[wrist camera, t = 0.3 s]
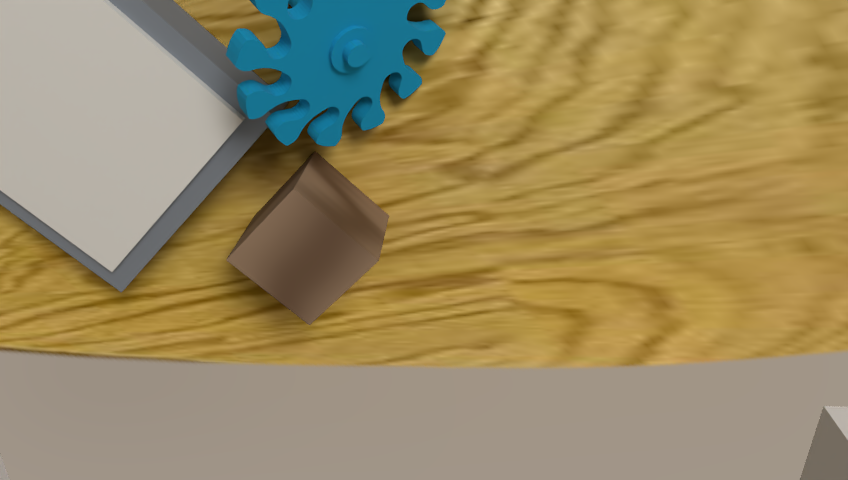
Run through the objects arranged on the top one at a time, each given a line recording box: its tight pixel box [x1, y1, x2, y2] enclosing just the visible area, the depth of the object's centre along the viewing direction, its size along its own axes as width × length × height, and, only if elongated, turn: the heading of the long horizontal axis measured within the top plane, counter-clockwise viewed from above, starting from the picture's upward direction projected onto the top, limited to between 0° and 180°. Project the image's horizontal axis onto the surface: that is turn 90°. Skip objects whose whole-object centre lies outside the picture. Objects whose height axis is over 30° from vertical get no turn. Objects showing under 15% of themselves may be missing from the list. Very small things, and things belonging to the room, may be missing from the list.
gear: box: [226, 0, 446, 146], centre depth 29 cm, size 11×6×10 cm
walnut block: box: [227, 151, 389, 325], centre depth 34 cm, size 5×5×5 cm
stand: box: [0, 0, 288, 292], centre depth 32 cm, size 18×13×3 cm
